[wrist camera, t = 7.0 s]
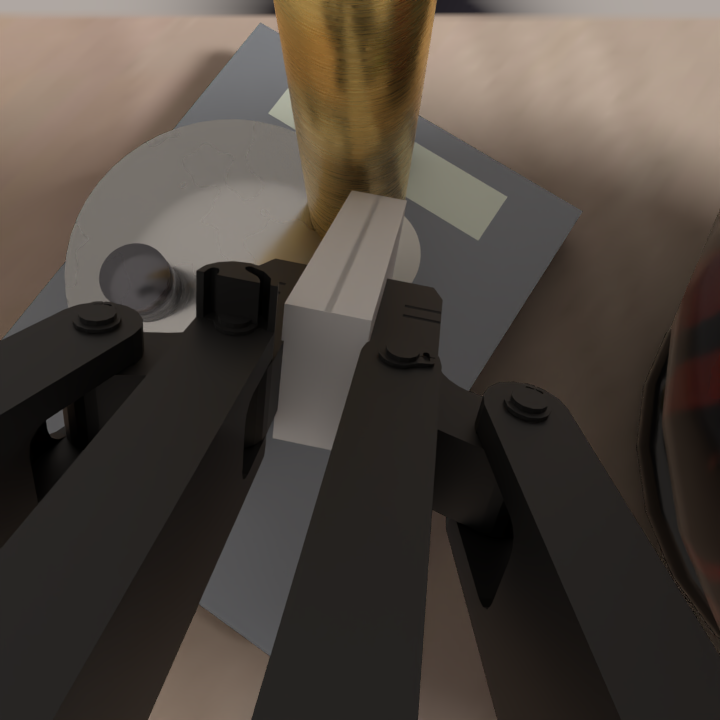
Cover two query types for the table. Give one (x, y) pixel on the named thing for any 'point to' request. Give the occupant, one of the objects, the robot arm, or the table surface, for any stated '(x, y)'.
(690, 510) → the brown glazed vase
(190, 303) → the lever
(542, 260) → the grey crank mechanism
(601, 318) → the table surface
